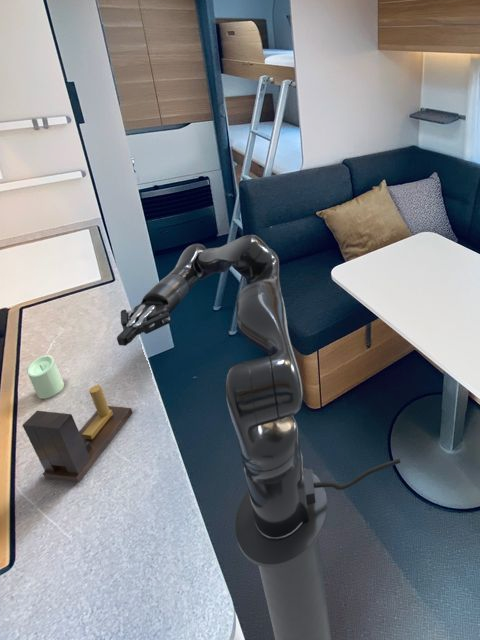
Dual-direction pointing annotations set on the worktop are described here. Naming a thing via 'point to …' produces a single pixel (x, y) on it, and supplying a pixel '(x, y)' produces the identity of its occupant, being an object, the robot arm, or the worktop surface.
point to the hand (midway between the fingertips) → (120, 342)
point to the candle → (45, 377)
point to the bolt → (101, 410)
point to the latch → (70, 442)
